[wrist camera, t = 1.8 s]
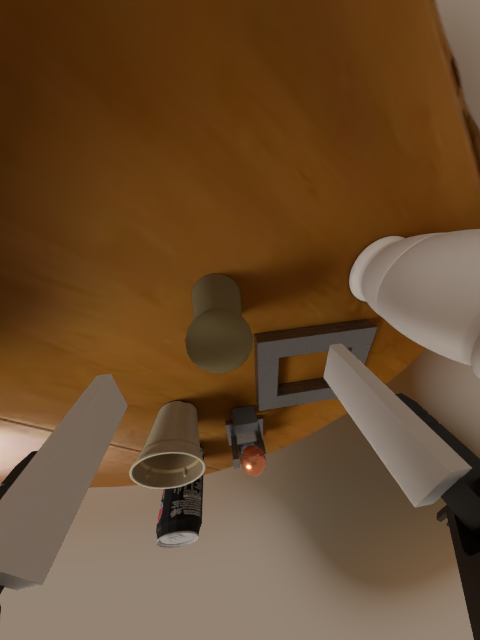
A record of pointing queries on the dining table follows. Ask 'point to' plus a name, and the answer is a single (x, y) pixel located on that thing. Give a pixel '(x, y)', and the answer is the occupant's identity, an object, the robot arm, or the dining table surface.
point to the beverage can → (180, 514)
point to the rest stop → (244, 419)
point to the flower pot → (170, 450)
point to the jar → (426, 290)
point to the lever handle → (252, 458)
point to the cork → (218, 326)
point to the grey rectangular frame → (297, 343)
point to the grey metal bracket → (244, 438)
